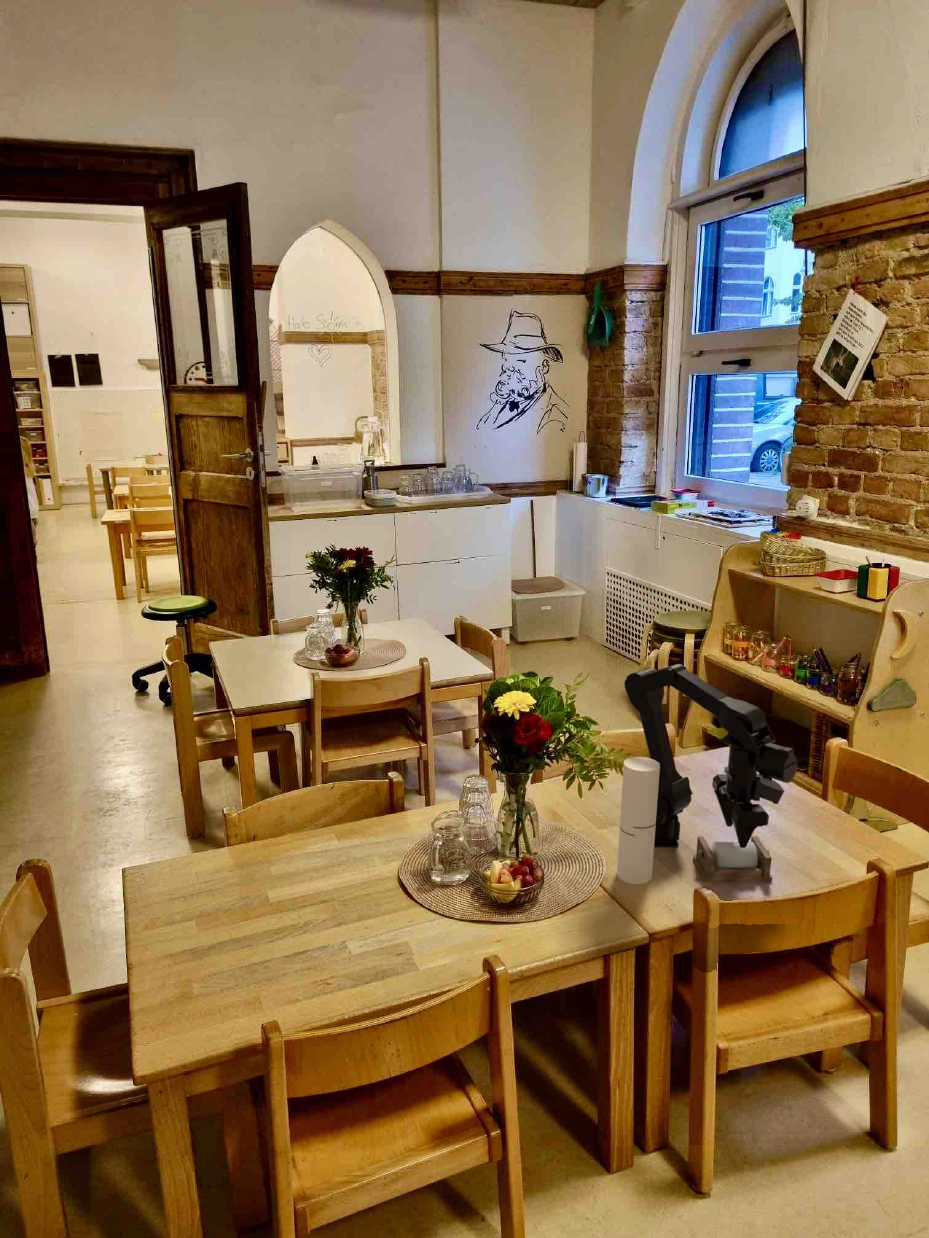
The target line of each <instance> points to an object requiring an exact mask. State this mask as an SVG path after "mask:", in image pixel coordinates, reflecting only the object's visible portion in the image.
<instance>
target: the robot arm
mask: <svg viewBox="0 0 929 1238" xmlns="http://www.w3.org/2000/svg"><path fill="white" fill-rule="evenodd" d="M625 678H626V679H625V680H624V683H623V684H624V689H625V692H626V695H627V696H628V700H629V702H630V704H631V705H632V706H633V707H634V708H635V709H636V711H638V714H639V716H640V721H641V725H642V730H643V734H644V738H645V742H646V746H647V751H648V754H649V758H650V759H653V760H655V761H657V762H658V763H659V764H660V771H659V785H658V799H657V812H656V826H655V840H654V847H679V840H680V834H681V832H680V831H681V822H680V820H679V816H678V815H679V814H682V813H683V812H684V810H685V809H686V808H688V807H689V806H690V803H691V802H692V795H693V794H694V793H693V791H692V789H691V786H690V779H689V777H688V776H684V777H683V776H682V775H681V773H680V772H678V771H677V768H676V767H677V766H676V764H675V759H674V755H673V750H672V747H671V742H670V739H669V734H668V731H667V730H668V729H667V725H666V721H665V718H664V712H663V709H662V706H663V701H664V698H665V687H669V686H670V687H672V688H673V689H675V690H677V691H678V692H679V693H680V694H682V695H683V696H685V697H687V698H689V700H691V701H692V702H694V703H696V704H697V705H699V706H700V707H701V708H702V709H705V710H706V711H708V712H709V713H710V714H712V715H713V716H714V717H715V718H716V719H717V721H718V722H719V724H720V726H721V727H722V729H724V730H725V731H726V732H727V734H726V735H725V736H723V737H721V738H720V739H719V741H720V743H723V744H726V745H729V749H728V758H727V759H728V760H727V761H728V762H727V766H724V774H722V773H721V774H719V773H718V774H716V775H715V776H714V777H713V778H712V781H711V782H712V784H711V786H712V789H713V792H714V794H715V796H716V799H717V802H718V805H719V808H720V811H721V813H722V816H723V819H724V822H725V825H726V827H732V826H733V827H734V830H735V834H736V835H735V836H736V837H737V842H739V845H740V847H741V848H746V846H747V844H748V842H750V841H751V840H750V839H751V838H752V836H753V833H754V832H755V831H756V829H757V828H758V827H764V826H767V825H769V819H770V818H769V817H770V815H769V813H768V812H767V811H766V810H765V809H764V807H763V806H762V805H761V804H760V803H752V801H754V802H760V800H761V799H763V800H765V801H768V802H771V803H773V805H774V804H775V805H778V804H779V803H780V801H781V799H782V797H783V794H784V793H785V789H784V787H783V786H781V784H779V783H778V782H777V781H780V782H782V783H786V784H789V783H791V782H792V780H793V779H794V777H795V775H796V773H797V769H798V764H799V763H798V762H797V761H798V760H797V757H796V755H795V754H794V752H795V751H794V749H793V747H788V746H781V745H779V744H776V743H774V742H776V737H775V736H774V733H773V731H772V730H771V729H770V726H769V724H768V722H767V719H766V716H765V712H764V710H762V709H761V708H760V707H758V706H756V705H754V704H751V703H749V702H747V701H745V700H741V699H736V698H733V697H730V696H728V695H726V694H725V693H724V692H722V691H720V690H719V689H717V688H716V687H714V686H713V685H711V684H709V683H708V682H707V681H705V680H703V679H702V678H700V677H699V676H697V675H696V674H695V673H693V672H691V671H690V670H688V669H687V667H686V666H685V665H683V664H681V663H676V664H675V663H674V664H673V665H670V666H667V667H664V668H663V667H662V668H659V669H655V668H653V667H646V668H644V669H641V670H638V671H635V672H633V673H629V674H628V675H627V676H626V677H625ZM757 734H759V736H758V737H756V738H753V737H754V736H755V735H757Z"/></svg>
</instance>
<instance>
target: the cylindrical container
mask: <svg viewBox="0 0 929 1238" xmlns="http://www.w3.org/2000/svg"><path fill="white" fill-rule="evenodd" d="M622 769H623V770H622V787H621V799H620V800H621V802H620V803H621V805H620V817H619V818H620V819H619V835H618V848H617V849H618V853H617V867H616V876H617V878H619V879H620V881H623V882H625V883H627V884H631V885H644V884H648V883H649V882H650V881H651V880H652V878H653V868H654V867H653V866H654V865H653V864H654V852H655V851H654V850H655V846H654V840H655V826H656V812H657V799H658V785H659V771H660V764H659V763H658V762H657V761H655V760H653V759H650V757H647V756H646V757H644V756H630V757H627V758H626V759H625V760H624V761H623V768H622Z"/></svg>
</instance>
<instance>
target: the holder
mask: <svg viewBox="0 0 929 1238" xmlns="http://www.w3.org/2000/svg"><path fill="white" fill-rule="evenodd" d="M750 839H751V840H750V842H753V843H754V844H755V846H756V850H757V866H756V868H755V869H715V868H714V866H715V856H714V854H713V853H712V851H711V848H710V846H709V843H708V842H707V840H706V838H705V837H704V836H703V835H702V836H701V835H699V836H698V835H697V841H696V851H695V852H696V853H695V854H694V855H692V856H693V857H692V861H693V863H695V866H696V868H697V870H698V872H699V874H700V876H701V878H702V880H703V881H704V882H709V883H710V882H712V883H713V882H714V883H715V882H717V883H718V882H723V883H725V882H727V883H730V882H733V883H735V882H736V883H741V882H744V883H747V882H752V883H753V882H754V883H757V882H756V881H772V882H773V875H772V874H771V868H772V867H771V866H772V865H771V864H772V856H771V854H770V851H769V850H767V848H766V847H765V846H764V844H763V843H762V841H761V840H760V839H759V837H758V836H756V835H755V836H753V835H751V838H750Z"/></svg>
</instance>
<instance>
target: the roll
mask: <svg viewBox="0 0 929 1238" xmlns="http://www.w3.org/2000/svg"><path fill="white" fill-rule="evenodd" d="M710 849H711V851H712V853H713V854H714V856H715V866H714V868H715V869H755V868H756V866H757V850H756V846H755V844H754V843H753V842H751V841H749V842H748V844H747V846H746V848H741V847H740V845H739V842H738V841H713V842H712V844H711V848H710Z"/></svg>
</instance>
